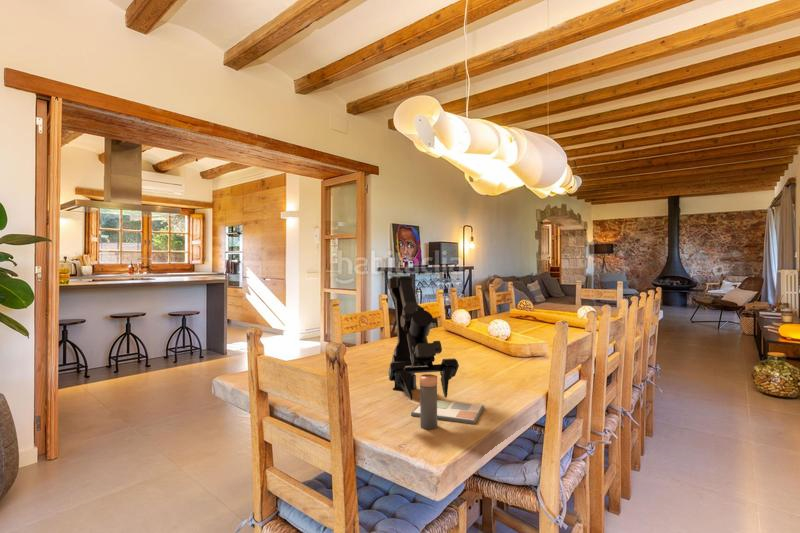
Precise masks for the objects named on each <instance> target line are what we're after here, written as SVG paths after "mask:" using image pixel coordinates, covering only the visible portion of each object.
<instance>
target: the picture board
mask: <svg viewBox="0 0 800 533" xmlns="http://www.w3.org/2000/svg"><path fill="white" fill-rule="evenodd" d="M484 409H485V405H484V404H478V403H477V404H475V403H469V402H467V403H466V402H458V401H451V400H450V401H449V400H441V399H437V420H442V421H448V422H457V423H465V424H471V425H476V423H477V421H478V420H479V418H480V416H481V414H482V413H483V411H484ZM410 416H412V417H418V418H420V404H418V406H416V407H415V408H414V409H413V411H412V412H410Z"/></svg>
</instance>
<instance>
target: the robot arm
mask: <svg viewBox="0 0 800 533" xmlns="http://www.w3.org/2000/svg"><path fill="white" fill-rule="evenodd" d="M387 287H388V290H389V294H390V296H391V298H392V299H393V301H394V305H395V319H396V333H397V343H396V345H395V347H394V350H393V354H392V357H391V362H390V363H389V368H388V379H389V380H388V381H390V382H394V387H393V388H392V390H393V391H401V392H405V394H406V395H407V397H408V398H409V400H410V401H412V400H413V390H414V389H415V388H417V375H416V374H425V373H426V374H427V373H439V374H440V376H441V377H440V382H441V387H442V393H443V397H444V398H445V399H446V398H448V397H447V396H448V390H449V381H450V380H451V379H452V378H453V377H455V376H456V374H457V372H458V370H459V369H458V368H459V366H460V364H459V362H458V360H457V359H456V358H455V357H454V358H442V360H441V363H439V364H434V363H433V362H435V360H436V359H435V356H437V355H439V354H441V353H442V352H443V348H442V343H441V340H434V341H432V342H429V341H428V336H429V335H430V331H431V328H432V325H433V324H432V323H433V320H434V317H433V315H432V314H431V313H430V312H429V311H427V310H425V309H424V308H425V307H422V306H420V305H419V304H418V301H417V299H416V295H415V290H414V287H415V286H414V278H413V277H412V276H410V275H394V276H391V277H390V278H388V280H387Z"/></svg>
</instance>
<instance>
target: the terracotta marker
mask: <svg viewBox="0 0 800 533" xmlns="http://www.w3.org/2000/svg"><path fill="white" fill-rule="evenodd" d="M437 400H438V376H437V375H436V374H431V373H430V374H427V373H426V374H425V373H424V374H421V375H419V402H420V403H419V405H420V417H419V418H420V421H419V422H420V428H421V429H423V430H427V431H431V430H435V429H438V419H437Z"/></svg>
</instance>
